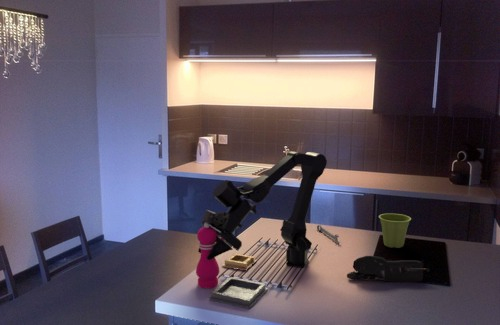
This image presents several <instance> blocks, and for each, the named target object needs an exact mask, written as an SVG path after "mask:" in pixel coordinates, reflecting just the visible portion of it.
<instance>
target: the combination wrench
mask: <svg viewBox="0 0 500 325" xmlns="http://www.w3.org/2000/svg"><path fill="white" fill-rule="evenodd" d="M316 230H317V231H319V232H322V233H324V234H325V235H327V236H328V237H330V238H331V239H332V240H333V241H334V242H335V244H336V245H339V244H340V243H341V242H340V241H338V240H339V239H338V238H340V235H339V234H334V233H332V232H330V231H329V230H327V229H326V228H324V227H323V226H322V225H321V224H318V225H317V226H316Z"/></svg>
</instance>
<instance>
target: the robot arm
mask: <svg viewBox="0 0 500 325" xmlns="http://www.w3.org/2000/svg"><path fill="white" fill-rule="evenodd" d="M327 163H328V160H327V158H326V156H325V154H323V153H319V152H317V153H316V152H313V151H307V152H306V153H302V152H298V151H294V150H293V151H289V152H287V153H286V155H285V156H284V157H282V158H281V159H280V160H279V161H278V162H276V163H275V164H274V165H272V167H270V168H269V169H268V170H267V171H266V172H264V173H263V174H262V175H261V176H258V177H255V178H254V177H253V179H251V180H249V181H247V182H246V183H244V184H243V185H242V186H238V187H236V186H235V185H234V183H233V182H232V181H231V180H229V179H226V180H225V181H224V182H223V181H222V182H221V183H220V184H219V185H216V186H215V188H214V189H213V191H212V196H213V197H214V198H215V199H216V200H217V201H218V202H219V203H221V205H223V206H224V207H225V208H228V210H227V211H221V212H219V211H216V212H214V211H212V210H208V209H205V211H204V213H203V215H202V216H203V217H202V221H201V222H200V225H201V226H202V227H204V224H205V223H206V222H208V223H209V224H210V226H209V227H212V228H214V229H215V230H216V233H217V236H216V240H215V241H214V242H215V245H214V247H213V248H212V250H211V251H210V253H209V254H208V256H207V259H208V260H210V259H212V258H214V257H215V258H217V257H218V256H220V255H222V254H225V253H226V252H229V251H233V249H235V250H236V251H239V250H240V249H241V248H242V246H243V245H242V243H243V242H242V241H241V240H240V239H239V238H238V237H237V236H236V235H235V234H234V233H235V231H236V230H237V229H238V228H240V229H241V228H242V227H243V224H242V222H243V221H244V220H245V218H247V216H248V215H249V213H252V214H254V215H256V214H257V205H256V204H253V203H257V204H260V203H262V202H263V201H264V200H265V199H266V198H267V196H268V195H269V194H270V191H271V190H272V188H273V187H274V185H276V184H277V183H278V182H279V181H280V180H281V179H282V178H284V177H285V176H286V175H288V174H289V173H290V172H291V171H292V170H293V169H294V168H295V167H297V165H300V170H301V175H302V177H301V181H300V184H299V187H298V190H297V195H296V198H295V202H294V204H293V209H292V211H291V214H290V216H289V218H288V219H283V221H282V225H281V228H280V229H279V230H280V236H281V239H283V241H284V243H285V245H288V246H287V249H286V252H285V253H286V255H285V259H286V263H285V265H286V264H287V265H286V266H290V265H292V266H291V267H296V266H297V267H296V268H305V266H306V265H308V263H309V262H310V260H309V259H308V255H309V254H308V250H311V248H312V245H313V243H312V241H310V240H309V239H308V238H307V237H306V236H307V225H306V218H307V214H308V212H309V208H310V204H311V200H312V198H313V194H314V191H315V186H316V184H317V181H318V179H319V178H320V177H321V176H322V175H323V173H324V171H325V169H326V167H327ZM248 200H249V201H250V202H253V203H250V202H249V201H248ZM197 252H198V253H199V254H201V249H200V248H198V250H197Z"/></svg>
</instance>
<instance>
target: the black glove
mask: <svg viewBox="0 0 500 325" xmlns="http://www.w3.org/2000/svg"><path fill="white" fill-rule="evenodd" d="M352 263H353V265H352V269H354V270H353V271H351V272H348V273H347V274H346V278H347V279H349V280H352V281H357V280H358V281H366V280H376V279H378V280H380V281H384V282H385V283H386V282H387V283H391V282H392V283H398V282H399V283H408V282H409V283H410V282H411V283H418V282H419V283H420V282H422V280H423V277H424V275H423V271H427V273H429V272H430V271H431V270H430V268H427V267H426V268H425V267H424V268H423V266H422V261H420V260H413V259H412V260H407V259H404V260H386V259H385V258H384V257H382V256H375V255H374V256H373V255H363V256H361V257H358V258H356V259H355V260H354V261H353V262H352Z"/></svg>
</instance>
